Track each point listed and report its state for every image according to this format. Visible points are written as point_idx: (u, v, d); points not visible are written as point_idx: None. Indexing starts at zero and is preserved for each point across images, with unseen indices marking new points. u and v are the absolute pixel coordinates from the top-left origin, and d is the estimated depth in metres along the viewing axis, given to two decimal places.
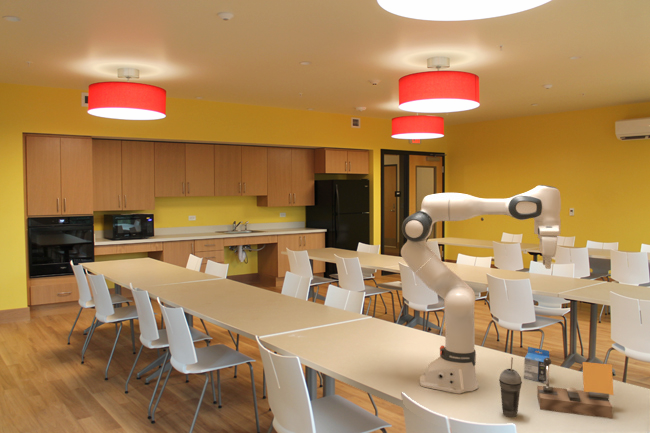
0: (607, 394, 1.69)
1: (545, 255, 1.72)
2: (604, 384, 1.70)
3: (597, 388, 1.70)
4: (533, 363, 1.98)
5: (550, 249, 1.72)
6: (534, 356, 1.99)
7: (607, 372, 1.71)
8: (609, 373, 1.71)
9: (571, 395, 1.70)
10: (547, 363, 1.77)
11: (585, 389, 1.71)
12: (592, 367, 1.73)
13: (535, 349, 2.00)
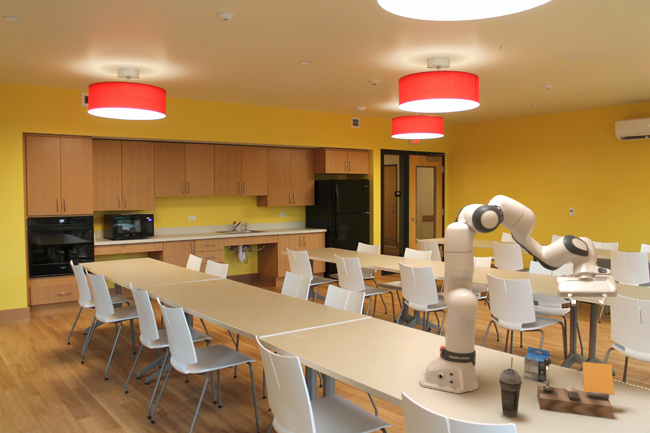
0: (607, 394, 1.69)
1: (616, 291, 1.83)
2: (604, 384, 1.70)
3: (597, 388, 1.70)
4: (533, 363, 1.98)
5: None
6: (534, 356, 1.99)
7: (607, 372, 1.71)
8: (609, 373, 1.71)
9: (571, 395, 1.70)
10: (547, 363, 1.77)
11: (585, 389, 1.71)
12: (592, 367, 1.73)
13: (535, 349, 2.00)
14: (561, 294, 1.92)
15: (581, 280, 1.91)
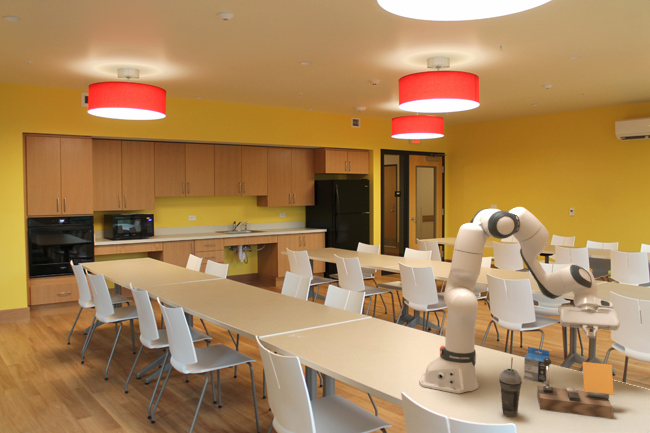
0: (607, 394, 1.69)
1: (618, 325, 1.84)
2: (604, 384, 1.70)
3: (597, 388, 1.70)
4: (533, 363, 1.98)
5: None
6: (534, 356, 1.99)
7: (607, 372, 1.71)
8: (609, 373, 1.71)
9: (571, 395, 1.70)
10: (547, 363, 1.77)
11: (585, 389, 1.71)
12: (592, 367, 1.73)
13: (535, 349, 2.00)
14: (563, 324, 1.90)
15: (584, 311, 1.90)
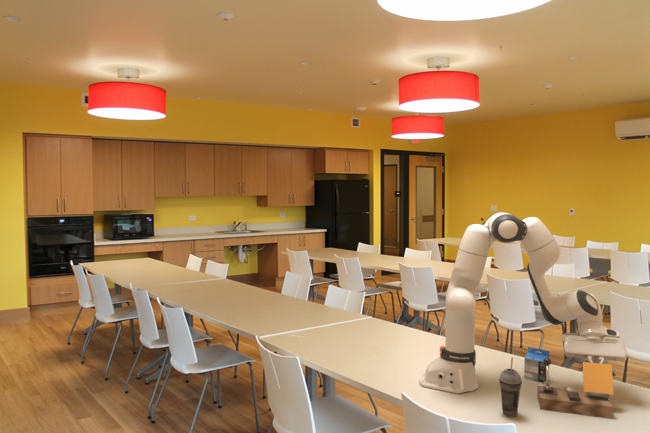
0: (607, 394, 1.69)
1: (626, 356, 1.73)
2: (604, 384, 1.70)
3: (597, 388, 1.70)
4: (533, 363, 1.98)
5: None
6: (534, 356, 1.99)
7: (607, 372, 1.71)
8: (609, 373, 1.71)
9: (571, 395, 1.70)
10: (547, 363, 1.77)
11: (585, 389, 1.71)
12: (592, 367, 1.73)
13: (535, 349, 2.00)
14: (567, 354, 1.80)
15: (589, 340, 1.80)
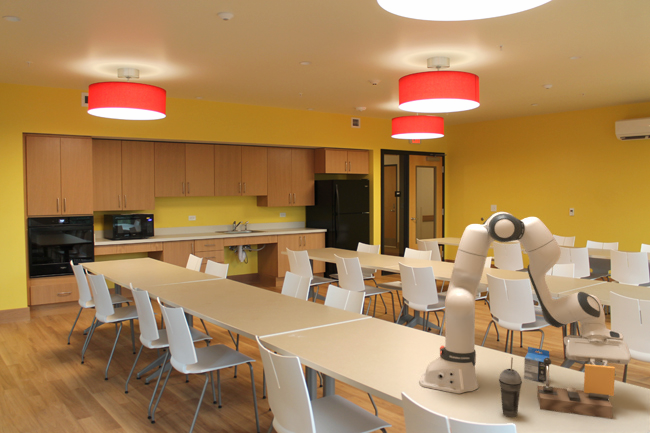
0: (607, 395, 1.68)
1: (630, 359, 1.69)
2: (605, 386, 1.68)
3: (597, 389, 1.69)
4: (533, 363, 1.98)
5: None
6: (534, 356, 1.99)
7: (609, 375, 1.67)
8: (611, 376, 1.67)
9: (571, 395, 1.70)
10: (547, 363, 1.77)
11: (585, 390, 1.71)
12: (594, 370, 1.69)
13: (535, 349, 2.00)
14: (569, 357, 1.76)
15: (591, 343, 1.76)
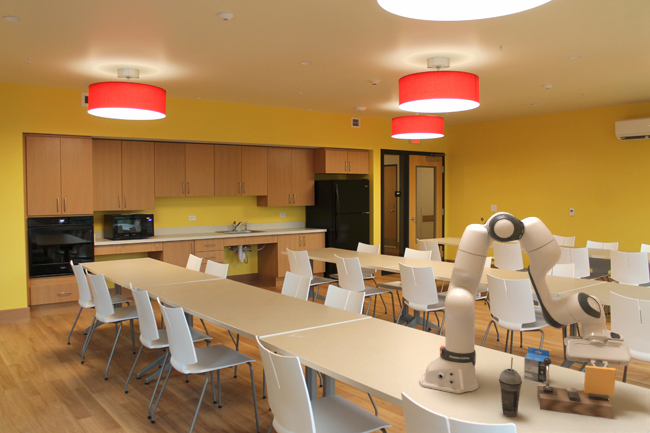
0: (607, 396, 1.68)
1: (630, 360, 1.68)
2: (605, 387, 1.68)
3: (598, 390, 1.69)
4: (533, 363, 1.98)
5: None
6: (534, 356, 1.99)
7: (610, 377, 1.67)
8: (612, 377, 1.66)
9: (571, 395, 1.70)
10: (547, 363, 1.77)
11: (585, 391, 1.71)
12: (595, 372, 1.68)
13: (535, 349, 2.00)
14: (570, 358, 1.75)
15: (592, 344, 1.75)
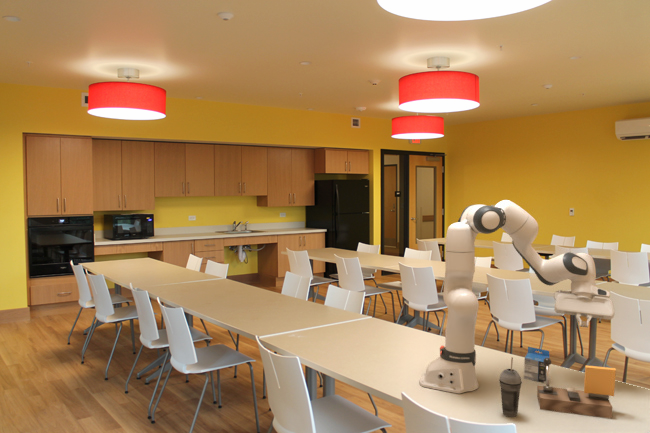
0: (607, 396, 1.68)
1: (613, 315, 1.83)
2: (605, 387, 1.68)
3: (598, 390, 1.69)
4: (533, 363, 1.98)
5: None
6: (534, 356, 1.99)
7: (610, 377, 1.67)
8: (612, 377, 1.66)
9: (571, 395, 1.70)
10: (547, 363, 1.77)
11: (585, 391, 1.71)
12: (595, 372, 1.68)
13: (535, 349, 2.00)
14: (557, 311, 1.91)
15: (579, 299, 1.89)
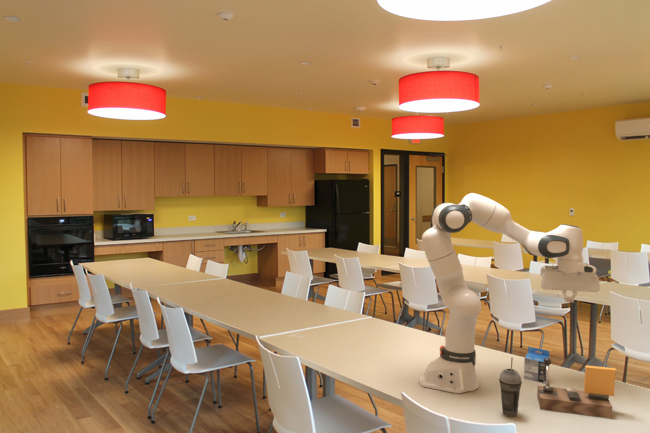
0: (607, 396, 1.68)
1: (598, 290, 1.86)
2: (605, 387, 1.68)
3: (598, 390, 1.69)
4: (533, 363, 1.98)
5: None
6: (534, 356, 1.99)
7: (610, 377, 1.67)
8: (612, 377, 1.66)
9: (571, 395, 1.70)
10: (547, 363, 1.77)
11: (585, 391, 1.71)
12: (595, 372, 1.68)
13: (535, 349, 2.00)
14: None
15: (566, 276, 1.89)
